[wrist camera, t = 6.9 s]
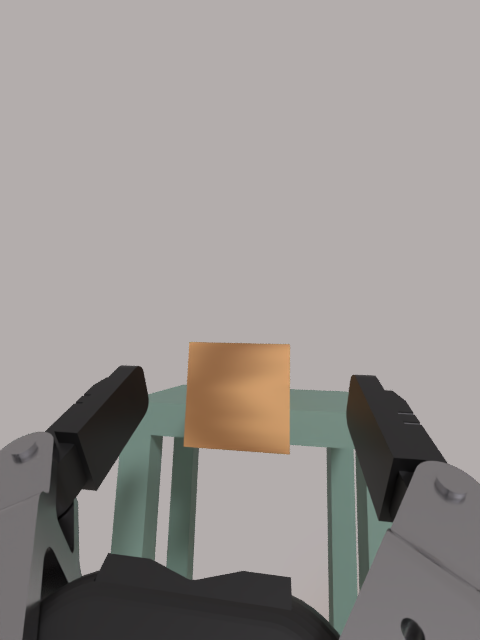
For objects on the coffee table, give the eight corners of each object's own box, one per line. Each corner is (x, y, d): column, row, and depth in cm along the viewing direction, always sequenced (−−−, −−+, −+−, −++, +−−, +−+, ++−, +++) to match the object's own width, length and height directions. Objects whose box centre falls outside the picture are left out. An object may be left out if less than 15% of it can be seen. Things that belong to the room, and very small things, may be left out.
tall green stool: (64, 1077, 13) (124, 401, 18) (163, 739, 25) (183, 384, 30) (443, 1228, 11) (400, 415, 16) (356, 781, 23) (346, 391, 27)
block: (183, 446, 9) (189, 342, 10) (245, 387, 29) (246, 354, 29) (289, 454, 9) (289, 344, 9) (278, 388, 28) (279, 354, 29)
